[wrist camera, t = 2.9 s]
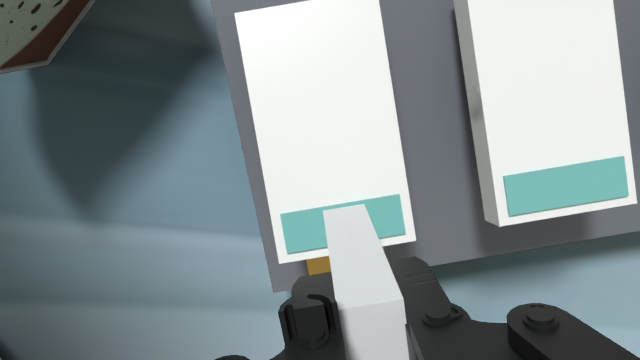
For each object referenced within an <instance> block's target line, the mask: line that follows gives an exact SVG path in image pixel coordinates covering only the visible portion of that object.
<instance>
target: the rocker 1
mask: <svg viewBox="0 0 640 360" xmlns="http://www.w3.org/2000/svg"><path fill="white" fill-rule="evenodd" d="M234 14H235V20H236V25H237V31H238V37H239V42H240V48H241V53H242V59H243V65H244V70H245V76H246V81H247V87H248V93H249V98H250V104H251V109H252V115H253V121H254V126H255V132H256V137H257V143H258V149H259V154H260V160H261V165H262V171H263V177H264V182H265V188H266V193H267V199H268V205H269V210H270V216H271V221H272V227H273V233H274V238H275V244H276V249H277V255H278V261H279V264H282V263H288V262H294V261H300V260H305V259H311V258H317V257H323V256H329V251H328V244H327V237H326V230H325V223H324V216H323V210H329V209H335V208H341V207H347V206H353V205H359V204H364V205H365V207H366V210H367V212H368V215H369V217H370V219H371V222H372V224H373V227H374V229H375V231H376V234H377V236H378V239H379V241H380V243H381V246H388V245H394V244H400V243H406V242H412V241H416V235H415V229H414V223H413V216H412V210H411V203H410V197H409V190H408V184H407V178H406V171H405V165H404V158H403V152H402V146H401V139H400V133H399V126H398V120H397V113H396V107H395V101H394V94H393V88H392V81H391V75H390V69H389V62H388V56H387V49H386V43H385V37H384V30H383V24H382V17H381V11H380V4H379V0H309V1H303V2H297V3H291V4H285V5H279V6H273V7H267V8H262V9H256V10H250V11H244V12H238V13H234Z"/></svg>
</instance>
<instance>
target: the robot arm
mask: <svg viewBox="0 0 640 360" xmlns="http://www.w3.org/2000/svg"><path fill="white" fill-rule="evenodd" d="M323 216H324V223H325V230H326V237H327V244H328V251H329V259H330V266H331V272H325V273H319V274H314V275H308V276H302V277H299V278H298V279H297V281H296V282H295V283H294V285H293V286H292V297H291V298H289V299H288V300H286V301H285V302H284V303H283V304H282V305H281V306H280V309H279V311H278V314H279V319H280V323H281V328H282V333H283V337H284V342H285V349H284V350H283V351H282V352H281V353H280V354H278V355H277V356H275V357H274V358H272V359H270V360H640V358H638V357H637V356H635V355H634V354H632V353H631V352H629V351H627V350H626V349H624V348H623V347H621V346H620V345H618V344H616V343H615V342H613V341H612V340H610V339H609V338H607V337H605V336H604V335H602V334H601V333H599V332H598V331H596V330H594V329H593V328H591V327H590V326H588V325H587V324H585V323H583V322H582V321H580V320H579V319H577V318H576V317H574V316H572V315H571V314H569V313H568V312H566V311H564V310H562V309H560V308H558V307H555V306H551V305H546V304H541V303H537V304H535V303H530V304H524V305H519V306H517V307H515V308H513V309H512V310H510V312H509V313H508V315H507V323H488V322H479V321H475V320H471V318H470V317H469V315H468V314H467V312H466V311H465V310H464V309H462V308H461V307H459V306H457V305H455V304H452V303H451V302H450V301H449V299H448V297H447V296H446V294H445V292H444V291H443V289H442V287H441V286H440V284H439V282H438V281H437V279H436V277H435V276H434V274H433V273H432V271H431V269H430V267H429V266H428V264H427V263H426V262H425V261H423V260H421V259H419V258H418V257H416V256H413V257H407V258H401V259H395V260H389V261H388V260H387V258H386V255H385V253H384V251H383V248H382V246H381V243H380V241H379V239H378V236H377V234H376V231H375V229H374V227H373V224H372V222H371V219H370V217H369V215H368V212H367V210H366V207H365V205H364V204H359V205H353V206H347V207H341V208H335V209H329V210H323ZM215 360H249V359H248V358H246V357H245V356H239V355H230V356H223V357H220V358H217V359H215Z"/></svg>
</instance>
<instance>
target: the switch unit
mask: <svg viewBox="0 0 640 360" xmlns="http://www.w3.org/2000/svg"><path fill="white" fill-rule="evenodd" d="M303 1H309V0H211V5H212V9H213V14H214V19H215V23H216V28H217V33H218V37H219V42H220V47H221V51H222V56H223V60H224V65H225V70H226V74H227V79H228V84H229V88H230V93H231V98H232V102H233V107H234V111H235V116H236V121H237V125H238V130H239V135H240V139H241V144H242V149H243V153H244V158H245V163H246V167H247V172H248V176H249V181H250V186H251V190H252V195H253V200H254V204H255V209H256V214H257V218H258V223H259V228H260V232H261V237H262V241H263V246H264V251H265V255H266V260H267V265H268V269H269V274H270V279H271V283H272V288H273V292H274V293H275V292H281V291H287V290H292V286H293V285H294V283H295V282H296V281H297V279H298V278H299V277H302V276H308V275H314V274H319V273H325V272H331V266H330V259H329V256H323V257H317V258H311V259H305V260H300V261H294V262H288V263H282V264H279V261H278V255H277V249H276V244H275V238H274V233H273V227H272V221H271V216H270V210H269V205H268V199H267V193H266V188H265V182H264V177H263V171H262V165H261V160H260V154H259V149H258V143H257V137H256V132H255V126H254V121H253V115H252V109H251V104H250V98H249V93H248V87H247V81H246V76H245V70H244V65H243V59H242V53H241V48H240V42H239V37H238V31H237V25H236V20H235V14H234V13H238V12H244V11H250V10H256V9H262V8H267V7H273V6H279V5H285V4H291V3H297V2H303ZM379 4H380V11H381V17H382V24H383V30H384V37H385V43H386V49H387V56H388V62H389V69H390V75H391V81H392V88H393V94H394V101H395V107H396V113H397V120H398V126H399V133H400V139H401V146H402V152H403V158H404V165H405V171H406V178H407V184H408V190H409V197H410V203H411V210H412V216H413V223H414V229H415V235H416V241H412V242H406V243H400V244H394V245H388V246H382V248H383V251H384V253H385V255H386V258H387V260H388V261H389V260H395V259H401V258H407V257H413V256H416V257H418V258H419V259H421V260H423V261H425V262H426V263H427V264H428V266H435V265H441V264H447V263H452V262H458V261H464V260H470V259H476V258H482V257H488V256H494V255H500V254H506V253H512V252H518V251H523V250H529V249H535V248H541V247H547V246H553V245H559V244H565V243H571V242H577V241H583V240H589V239H594V238H600V237H606V236H612V235H618V234H624V233H630V232H636V231H640V0H613V4H614V13H615V21H616V30H617V38H618V46H619V55H620V63H621V71H622V80H623V88H624V97H625V105H626V113H627V122H628V130H629V138H630V147H631V155H632V163H633V172H634V180H635V189H636V197H637V203H636V204H630V205H625V206H619V207H613V208H607V209H601V210H595V211H589V212H583V213H577V214H571V215H565V216H560V217H554V218H548V219H542V220H536V221H530V222H524V223H518V224H512V225H506V226H500V227H499V226H497V225H495V224H493V223H490V222H488V221H486V220H485V216H484V209H483V202H482V196H481V189H480V182H479V175H478V168H477V161H476V154H475V147H474V140H473V133H472V126H471V119H470V112H469V105H468V99H467V92H466V85H465V78H464V71H463V64H462V57H461V50H460V43H459V36H458V29H457V22H456V15H455V8H454V2H453V0H379Z"/></svg>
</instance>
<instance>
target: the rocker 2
mask: <svg viewBox="0 0 640 360" xmlns="http://www.w3.org/2000/svg"><path fill="white" fill-rule="evenodd" d="M453 2H454V8H455V15H456V22H457V29H458V36H459V43H460V50H461V57H462V64H463V71H464V78H465V85H466V92H467V99H468V105H469V112H470V119H471V126H472V133H473V140H474V147H475V154H476V161H477V168H478V175H479V182H480V189H481V196H482V202H483V209H484V216H485V220H486V221H488V222H490V223H493V224H495V225H497V226H499V227H500V226H506V225H512V224H518V223H524V222H530V221H536V220H542V219H548V218H554V217H560V216H565V215H571V214H577V213H583V212H589V211H595V210H601V209H607V208H613V207H619V206H625V205H630V204H636V203H637V197H636V189H635V180H634V172H633V163H632V155H631V147H630V138H629V130H628V122H627V113H626V105H625V97H624V88H623V80H622V71H621V63H620V55H619V46H618V38H617V30H616V21H615V13H614V4H613V0H453Z"/></svg>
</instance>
